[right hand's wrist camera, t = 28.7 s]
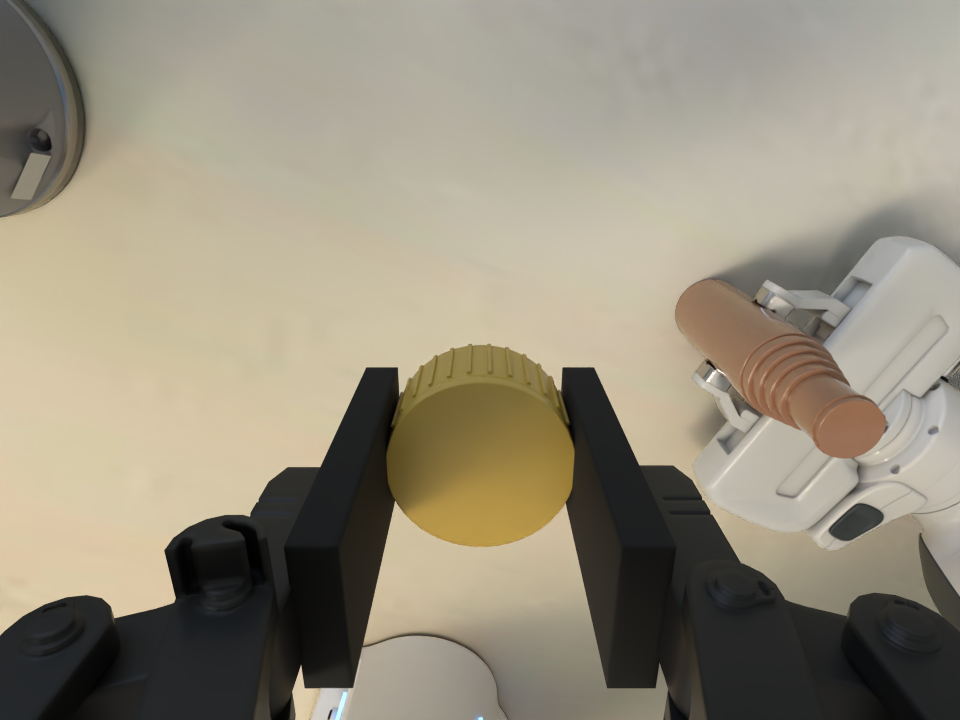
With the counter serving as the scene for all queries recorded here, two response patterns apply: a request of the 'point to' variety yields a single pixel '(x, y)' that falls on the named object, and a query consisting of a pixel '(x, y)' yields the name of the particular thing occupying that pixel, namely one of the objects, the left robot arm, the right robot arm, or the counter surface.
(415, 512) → the cap
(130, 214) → the counter surface
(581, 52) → the counter surface
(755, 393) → the bottle
